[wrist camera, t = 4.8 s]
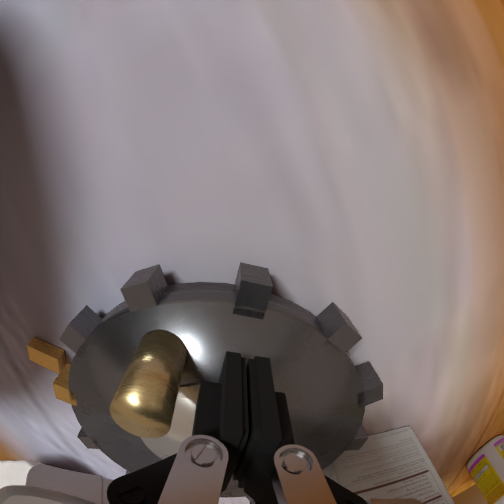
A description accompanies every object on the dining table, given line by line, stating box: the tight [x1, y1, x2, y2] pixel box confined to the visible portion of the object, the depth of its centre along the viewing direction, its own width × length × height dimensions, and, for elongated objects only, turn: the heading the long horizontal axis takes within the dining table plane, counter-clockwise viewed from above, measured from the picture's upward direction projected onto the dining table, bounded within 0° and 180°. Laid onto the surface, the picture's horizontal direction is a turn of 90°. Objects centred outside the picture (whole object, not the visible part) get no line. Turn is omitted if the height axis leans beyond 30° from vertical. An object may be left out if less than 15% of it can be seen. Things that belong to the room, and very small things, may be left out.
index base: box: [27, 337, 66, 374], centre depth 15 cm, size 14×5×1 cm, turn 75°
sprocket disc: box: [53, 262, 383, 501], centre depth 12 cm, size 18×18×6 cm
